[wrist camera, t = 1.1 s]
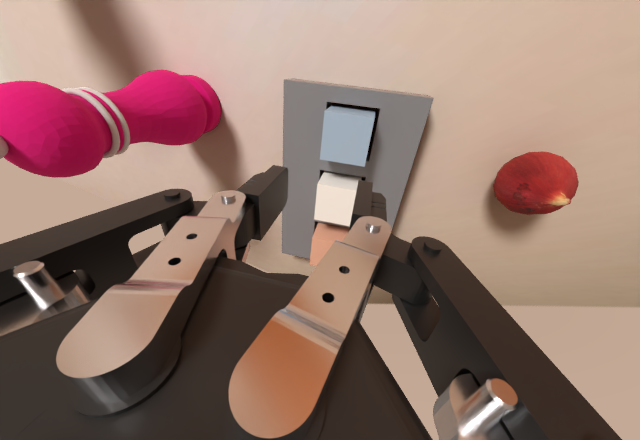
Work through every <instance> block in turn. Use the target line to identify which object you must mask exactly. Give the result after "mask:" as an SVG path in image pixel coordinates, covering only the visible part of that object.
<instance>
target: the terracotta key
mask: <svg viewBox="0 0 640 440" xmlns="http://www.w3.org/2000/svg"><path fill="white" fill-rule="evenodd" d="M348 232H349V228H347V227H342V226H337V225H332V224H327V223H322V222H318V224H317V227H316V229H315V232H314V234H313V237H312V245H311V255H310V265H313V266H317V265H318V263H319V262H320V261H321V259H322V258H323V257H324V255H325V254H326V253H327V251H328V250H329V249H330V247H331V246H332V244H333V243H334V242H335V241H336V240H338V241H341V242H342V241H343V240H344V238H345V237H346V235H347V234H348Z"/></svg>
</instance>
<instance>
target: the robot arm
mask: <svg viewBox="0 0 640 440" xmlns="http://www.w3.org/2000/svg"><path fill="white" fill-rule="evenodd" d="M372 188H373V182H368V181H362V180H359V181H358V186H357V191H356V196H355V201H354V206H353V211H352V217H351V222H350V227H349V232H348V234H347V235H346V237H345V238H344V240H343V241H342V242H341V241H338V240H336V241H335V242H334V243H333V244H332V246H331V247H330V249H329V250H328V251H327V253H326V254H325V255H324V257H323V258H322V259H321V261H320V262H319V263H318V265H317V266H316V268H315V269H314V270H313V272H312V273H311V274H310V276H305V275H300V274H281V273H265V272H263V271H261V270H258V269H256V268H254V267H252V266H250V265H248V264H246V263H245V262H246V258H247V255H248V252H249V249H250V243H249V241H250V240H251V239H256V240H260V241H261V240H262V238H263V237H264V235H265V234H266V232H267V231H268V230H269V228H270V227H271V225H272V224H273V222H274V221H275V220H276V218H277V217H278V215H279V214H280V212H281V211H282V210H283V208H284V207H285V205H286V203H287V198H288V168H287V167H281V166H275V165H273V166H272V167H271V168H270V169H268V170H267V171H266V172H265V173H263V172H262V173H260V174H257V175H254V176H253V177H252V178H251V179H250V180H248V181H247V182H246V184H244V185H242V186H241V187H240V188H239V189H238V190H236V191H234V190H227V191H221V192H218V193H216V194H214V195H213V196H212V197H211V198H210V199H209V201H193V198H192V194H191V192H190V191H188V190H184V189H170V190H165V191H162V192H159V193H155V194H152V195H149V196H146V197H143V198H140V199H137V200H134V201H131V202H128V203H125V204H122V205H119V206H116V207H113V208H110V209H107V210H104V211H101V212H98V213H95V214H92V215H88V216H85V217H82V218H79V219H76V220H73V221H70V222H67V223H64V224H61V225H58V226H55V227H52V228H49V229H46V230H43V231H40V232H37V233H34V234H30V235H27V236H24V237H22V238H18V239H15V240H12V241H9V242H6V243H3V244H0V440H432V438H431V437H430V435H429V434H428V432H427V430H426V429H425V427H424V425H423V424H422V422H421V420H420V419H419V418H418V416H417V414H416V412H415V411H414V409H413V408H412V406H411V404H410V403H409V401H408V400H407V398H406V396H405V395H404V393H403V392H402V390H401V388H400V387H399V385H398V384H397V382H396V380H395V379H394V377H393V375H392V374H391V372H390V371H389V369H388V367H387V366H386V364H385V363H384V361H383V360H382V358H381V356H380V355H379V353H378V351H377V350H376V348H375V347H374V345H373V343H372V342H371V340H370V339H369V337H368V335H367V334H366V332H365V330H364V329H363V327H362V326H361V324H360V321H361V318H362V315H363V313H364V310H365V307H366V305H367V302H368V300H369V297H370V295H371V292H372V289H373V287H374V285H375V286H377V287H379V288H381V289H383V290H385V291H387V292H389V293H391V294H392V299H393V301H394V304H395V306H396V308H397V310H398V312H399V314H400V316H401V319H402V320H403V323H404V325H405V327H406V329H407V331H408V333H409V336H410V338H411V340H412V342H413V344H414V346H415V348H416V350H417V352H418V355H419V357H420V359H421V361H422V363H423V365H424V368H425V370H426V371H427V373H428V376H429V378H430V380H431V382H432V385H433V387H434V389H435V391H436V393H437V395H438V397H439V398H438V399H437V400H436V402H435V405H434V409H433V416H434V422H435V425H436V429H437V432H438V435H439V440H622V439H621V438H620V437H619V436H618V435H617V434H616V433H615V432H614V430H613V429H612V428H611V427H610V426H609V425H608V424H607V423H606V421H605V420H604V419H603V418H602V417H601V416H600V415H599V414H598V413H597V412H596V410H595V409H594V408H593V407H592V406H591V405H590V404H589V403H588V401H587V400H586V399H585V398H584V397H583V396H582V395H581V394H580V393H579V391H577V389H576V388H575V387H574V386H573V385H572V384H571V383H570V381H569V380H568V379H567V378H566V377H565V376H564V375H563V374H562V373H561V371H560V370H559V369H558V368H557V367H556V366H555V365H554V364H553V363H552V361H550V359H549V358H548V357H547V356H546V355H545V354H544V353H543V351H542V350H541V349H540V348H539V347H538V346H537V345H536V344H535V343H534V342H533V340H532V339H531V338H530V337H529V336H528V335H527V334H526V333H525V331H524V330H523V329H522V328H521V327H520V326H519V325H518V324H517V323H516V321H515V320H514V319H513V318H512V317H511V316H510V315H509V314H508V313H507V312H506V310H505V309H504V308H503V307H502V306H501V305H500V304H499V303H498V301H497V300H496V299H495V298H494V297H493V296H492V295H491V294H490V293H489V291H488V290H487V289H486V288H485V287H484V286H483V285H482V284H481V283H480V281H479V280H478V279H477V278H476V277H475V276H474V275H473V274H472V273H471V271H470V270H469V269H468V268H467V267H466V266H465V265H464V264H463V263H462V261H461V260H460V259H459V258H458V257H457V256H456V255H455V254H454V253H453V251H452V250H451V249H450V248H449V247H448V246H447V245H445V244H444V243H442V242H441V241H439V240H436V239H434V238H430V237H417V238H415V239H413V241H412V243H409V242H406V241H404V240H401V239H399V238H397V237H396V236H394V235H393V234H392V233H391V231H392V228H391V226H390V225H389V224H388V223H387V212H386V198H385V197H384V196H383V195H382V194H381V193H376V192H372ZM159 224H161V226H162V229H163V232H164V235H165V238H164V239H163V240H162V241H160V242H158V243H156V244H154V245H152V246H150V247H148V248H146V249H143V250H141V251H139V252H137V253H135V254H133V255H132V254H131V251H130V249H129V246H128V242H129V240H130V239H131V238H132V237H133V236H134V235H136V234H138V233H140V232H142V231H145V230H147V229H149V228H152V227H154V226H157V225H159ZM73 270H76V272H75V273H74V272H73ZM432 296H433V297H434V299H435V300H436V302H437V303H438V305H437V304H436V302H435V301H434V299H433V297H432ZM438 306H439V307H438Z"/></svg>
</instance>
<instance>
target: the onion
mask: <svg viewBox="0 0 640 440" xmlns="http://www.w3.org/2000/svg"><path fill="white" fill-rule="evenodd" d="M577 187H578V178H577V173H576V170H575V168H574V167H573V166H572V165H571V164H570V163H569V162H568V161H567V160H565V159H564V158H563V157H561V156H558V155H555V154H552V153H549V152H529V153H526V154H523V155H521V156H518V157H515V158H513V159H512V160H510V161H509V162H507V163H506V164H504V165H503V167H502V168H501V169H500V170H499V172H498V173H497V176H496V179H495V183H494V190H495V195H496V197H497V199H498V200H499V201H500V202H501V203H502V204H503V205H504V206H505V207H506V208H508V209H509V210H511V211H514V212H517V213H522V214H527V215H529V214H547V213H551V212H553V211H556V210H558V209H560V208H562V207H563V206H565V205H568V204H570V203H571V199H572V198H573V197H574V196H575V193H576V190H577Z"/></svg>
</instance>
